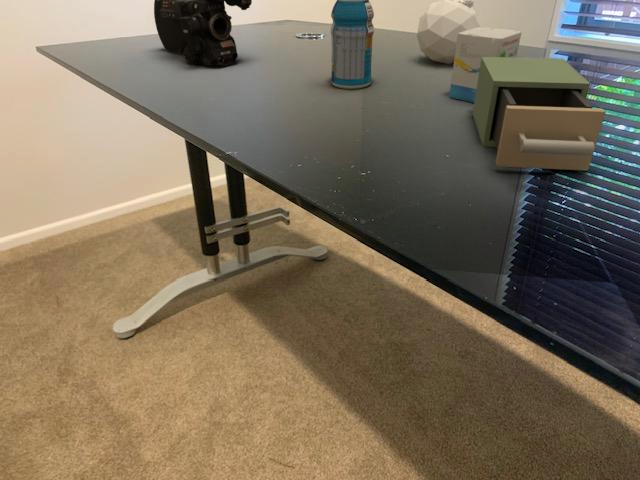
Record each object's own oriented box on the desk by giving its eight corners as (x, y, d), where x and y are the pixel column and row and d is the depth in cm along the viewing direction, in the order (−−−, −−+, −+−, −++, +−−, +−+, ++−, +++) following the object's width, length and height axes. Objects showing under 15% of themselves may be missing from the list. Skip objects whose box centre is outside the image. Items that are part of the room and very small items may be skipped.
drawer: (598, 185, 61) (618, 123, 57) (501, 180, 63) (513, 119, 59) (562, 133, 76) (575, 81, 72) (484, 130, 78) (492, 79, 73)
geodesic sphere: (498, 31, 119) (468, -24, 115) (493, 43, 107) (459, -17, 104) (443, 67, 127) (412, 17, 124) (432, 82, 116) (399, 27, 112)
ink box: (489, 106, 90) (501, 37, 84) (447, 97, 95) (455, 32, 89) (510, 95, 96) (523, 30, 89) (469, 87, 101) (479, 25, 94)
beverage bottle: (341, 92, 99) (343, -22, 88) (323, 81, 106) (323, -26, 95) (379, 86, 102) (384, -25, 91) (359, 76, 108) (362, -28, 98)
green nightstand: (572, 150, 73) (590, 83, 68) (482, 146, 75) (493, 80, 70) (549, 117, 85) (563, 58, 80) (472, 114, 87) (481, 56, 82)
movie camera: (271, 57, 122) (261, -25, 112) (208, 74, 112) (191, -13, 103) (203, 44, 142) (189, -26, 132) (144, 58, 132) (125, -17, 123)
